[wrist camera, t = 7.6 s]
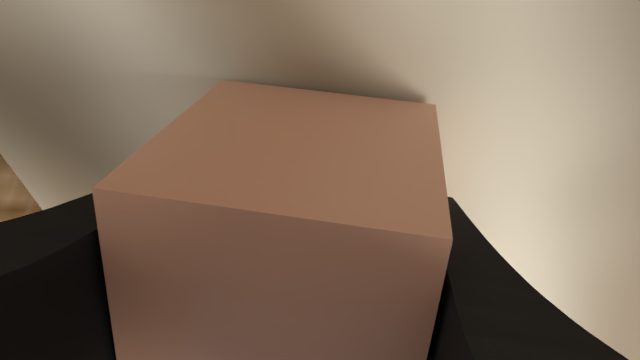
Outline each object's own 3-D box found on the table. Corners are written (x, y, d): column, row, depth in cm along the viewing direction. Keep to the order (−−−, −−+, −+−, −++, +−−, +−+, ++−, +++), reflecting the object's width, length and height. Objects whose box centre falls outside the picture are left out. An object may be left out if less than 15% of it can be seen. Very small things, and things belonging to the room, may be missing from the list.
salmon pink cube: (404, 281, 12) (399, 482, 8) (225, 254, 13) (126, 428, 8) (435, 104, 10) (452, 240, 6) (222, 80, 11) (91, 187, 6)
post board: (233, 416, 18) (185, 548, 14) (-47, 27, 13) (-233, 69, 9) (700, 309, 13) (815, 463, 9) (529, -349, 8) (623, -569, 5)
